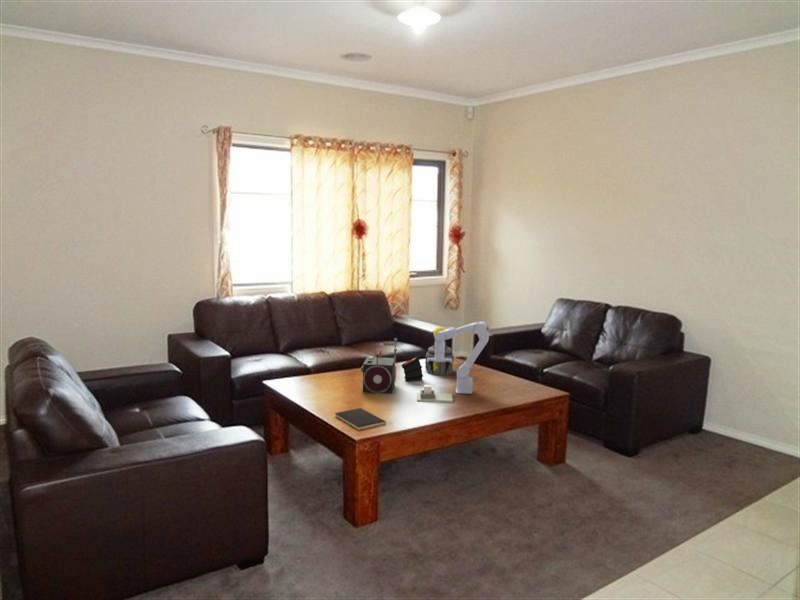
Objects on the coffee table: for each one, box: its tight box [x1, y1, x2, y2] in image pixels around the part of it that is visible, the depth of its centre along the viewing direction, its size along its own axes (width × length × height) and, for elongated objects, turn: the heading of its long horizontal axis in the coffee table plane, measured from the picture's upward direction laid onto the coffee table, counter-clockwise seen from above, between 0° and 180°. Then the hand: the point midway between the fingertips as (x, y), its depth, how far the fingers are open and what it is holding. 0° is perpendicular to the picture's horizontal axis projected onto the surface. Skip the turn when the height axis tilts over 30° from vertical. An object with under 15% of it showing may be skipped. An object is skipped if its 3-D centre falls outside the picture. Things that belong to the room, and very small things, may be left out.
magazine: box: [401, 356, 424, 383], centre depth 370 cm, size 4×13×15 cm, turn 110°
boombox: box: [360, 337, 398, 395], centre depth 350 cm, size 18×21×30 cm
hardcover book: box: [334, 407, 387, 431], centre depth 300 cm, size 16×23×2 cm
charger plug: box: [423, 384, 433, 394], centre depth 337 cm, size 4×4×6 cm
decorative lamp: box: [424, 326, 455, 376], centre depth 391 cm, size 19×19×30 cm
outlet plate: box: [416, 389, 454, 403], centre depth 337 cm, size 20×12×4 cm, turn 89°
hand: (439, 373), depth 353 cm, fingers open, 7 cm apart
